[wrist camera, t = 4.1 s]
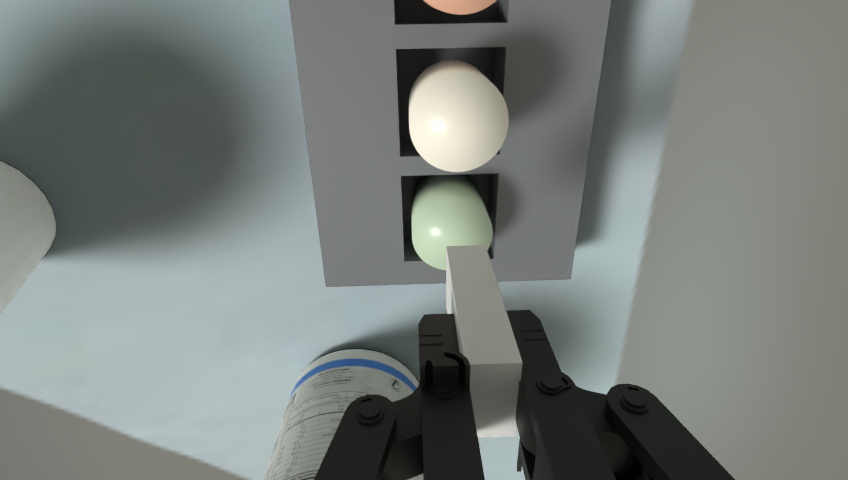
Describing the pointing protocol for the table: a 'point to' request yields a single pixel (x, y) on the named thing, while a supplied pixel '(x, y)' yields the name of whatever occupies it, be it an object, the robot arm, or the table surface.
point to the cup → (21, 230)
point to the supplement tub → (331, 406)
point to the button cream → (456, 116)
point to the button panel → (392, 145)
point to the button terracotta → (460, 5)
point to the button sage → (447, 217)
